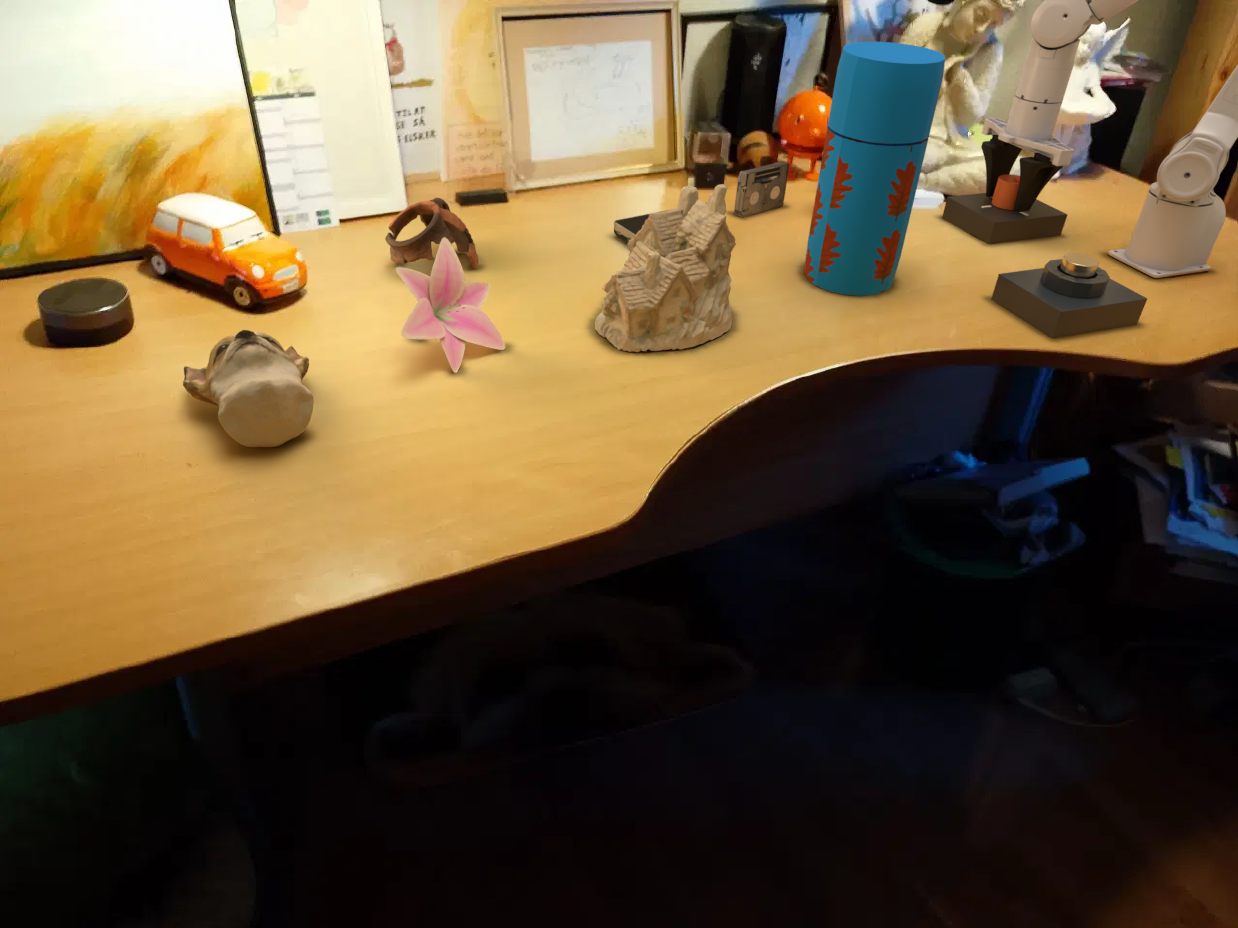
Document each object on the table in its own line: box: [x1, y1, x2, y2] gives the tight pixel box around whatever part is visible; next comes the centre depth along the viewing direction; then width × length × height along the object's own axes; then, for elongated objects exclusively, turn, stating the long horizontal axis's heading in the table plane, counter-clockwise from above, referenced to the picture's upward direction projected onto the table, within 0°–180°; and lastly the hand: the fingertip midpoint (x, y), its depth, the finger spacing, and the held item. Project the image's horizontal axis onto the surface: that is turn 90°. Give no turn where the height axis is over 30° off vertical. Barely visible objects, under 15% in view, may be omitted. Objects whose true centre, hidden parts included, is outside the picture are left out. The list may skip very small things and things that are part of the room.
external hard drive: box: [613, 208, 674, 243], centre depth 115 cm, size 7×11×2 cm, turn 122°
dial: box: [992, 174, 1020, 210], centre depth 121 cm, size 4×4×4 cm
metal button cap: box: [1059, 252, 1100, 279], centre depth 100 cm, size 4×4×2 cm
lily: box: [395, 237, 506, 374], centre depth 88 cm, size 12×12×10 cm
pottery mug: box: [384, 197, 480, 270], centre depth 106 cm, size 12×10×8 cm
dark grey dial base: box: [941, 192, 1068, 245], centre depth 123 cm, size 12×10×3 cm
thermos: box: [803, 41, 946, 297], centre depth 101 cm, size 11×11×25 cm
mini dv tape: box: [733, 161, 790, 218], centre depth 124 cm, size 8×2×6 cm, turn 128°
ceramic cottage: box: [594, 183, 737, 353], centre depth 94 cm, size 16×16×15 cm
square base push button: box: [990, 258, 1148, 339], centre depth 101 cm, size 12×10×5 cm
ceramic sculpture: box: [182, 329, 314, 448], centre depth 77 cm, size 11×9×15 cm
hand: (1007, 203), depth 122 cm, fingers open, 5 cm apart
